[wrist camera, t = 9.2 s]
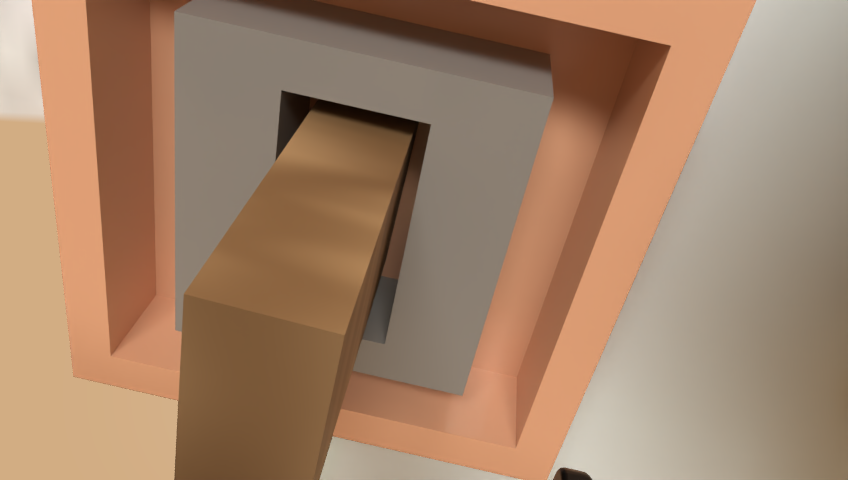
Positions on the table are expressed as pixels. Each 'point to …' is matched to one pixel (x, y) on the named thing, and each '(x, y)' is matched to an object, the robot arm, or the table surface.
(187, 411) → the wooden block
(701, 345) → the table surface
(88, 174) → the candle dish
